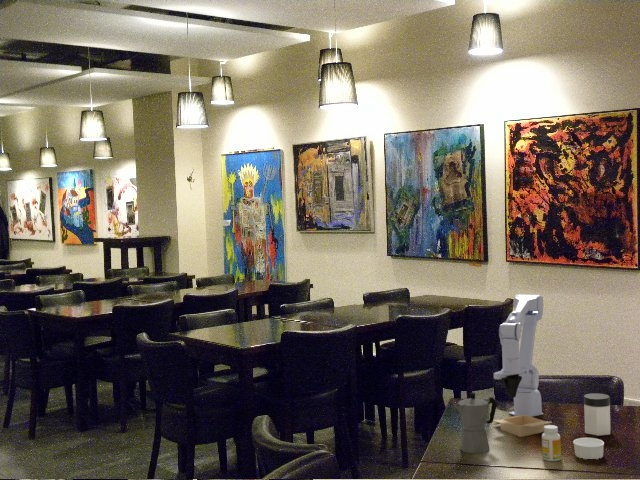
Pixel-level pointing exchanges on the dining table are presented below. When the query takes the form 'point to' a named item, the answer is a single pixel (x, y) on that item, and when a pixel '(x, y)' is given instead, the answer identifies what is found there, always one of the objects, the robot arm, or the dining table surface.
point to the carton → (519, 428)
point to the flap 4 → (537, 423)
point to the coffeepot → (475, 423)
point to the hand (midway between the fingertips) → (512, 396)
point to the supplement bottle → (551, 443)
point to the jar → (597, 414)
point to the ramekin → (588, 448)
